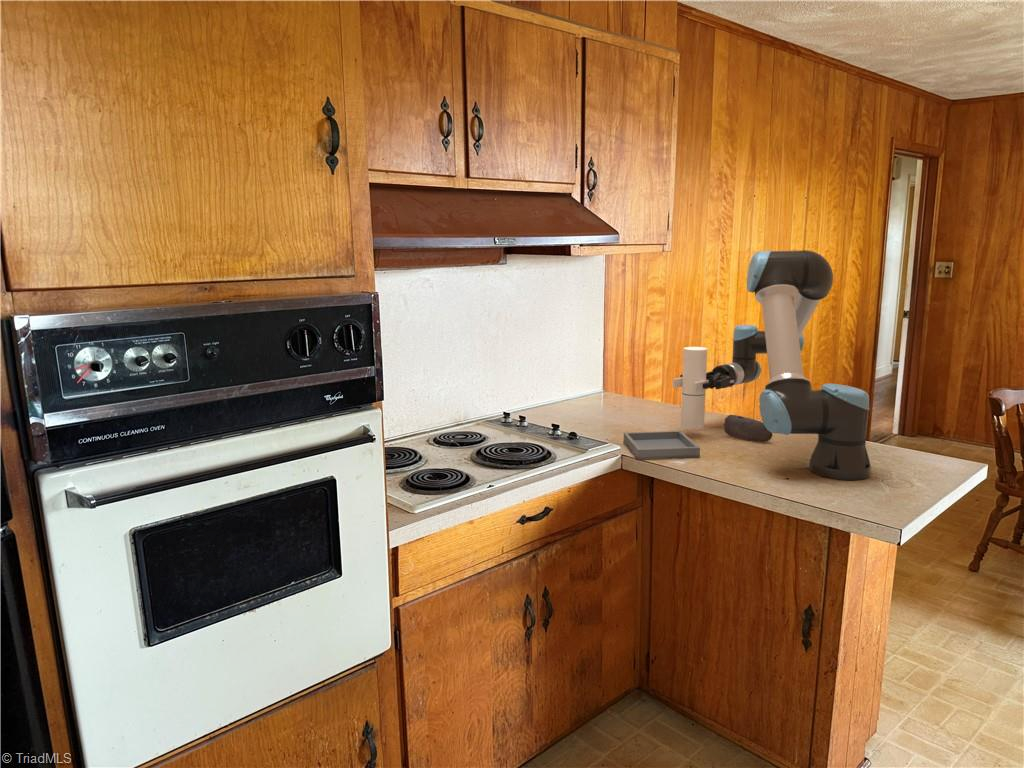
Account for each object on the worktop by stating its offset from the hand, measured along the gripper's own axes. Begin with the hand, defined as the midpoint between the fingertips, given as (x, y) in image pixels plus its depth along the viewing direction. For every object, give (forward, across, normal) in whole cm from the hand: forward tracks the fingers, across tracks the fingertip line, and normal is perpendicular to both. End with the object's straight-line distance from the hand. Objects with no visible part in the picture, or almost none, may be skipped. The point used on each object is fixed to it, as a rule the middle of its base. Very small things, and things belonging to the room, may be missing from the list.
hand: (684, 385), depth 224 cm
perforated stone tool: (-14, -14, -17) cm, 27 cm away
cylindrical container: (-5, 0, -14) cm, 15 cm away
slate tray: (+14, -2, -17) cm, 22 cm away
